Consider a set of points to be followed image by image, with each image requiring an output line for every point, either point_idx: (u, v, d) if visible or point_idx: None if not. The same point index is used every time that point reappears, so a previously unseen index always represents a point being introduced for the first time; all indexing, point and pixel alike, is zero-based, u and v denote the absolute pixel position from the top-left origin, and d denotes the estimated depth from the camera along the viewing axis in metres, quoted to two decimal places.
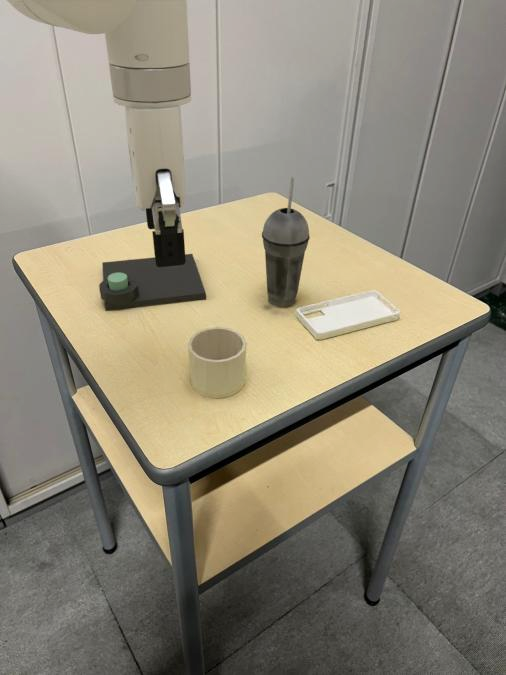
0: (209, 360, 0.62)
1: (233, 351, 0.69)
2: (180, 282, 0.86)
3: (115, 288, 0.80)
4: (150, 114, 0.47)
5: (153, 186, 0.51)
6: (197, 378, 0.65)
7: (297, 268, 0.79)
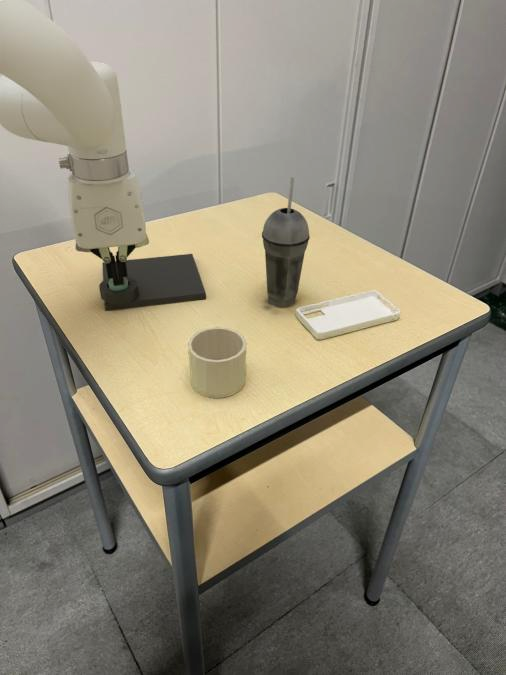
0: (209, 360, 0.62)
1: (233, 351, 0.69)
2: (180, 282, 0.86)
3: None
4: (135, 176, 0.72)
5: None
6: (197, 378, 0.65)
7: (297, 268, 0.79)
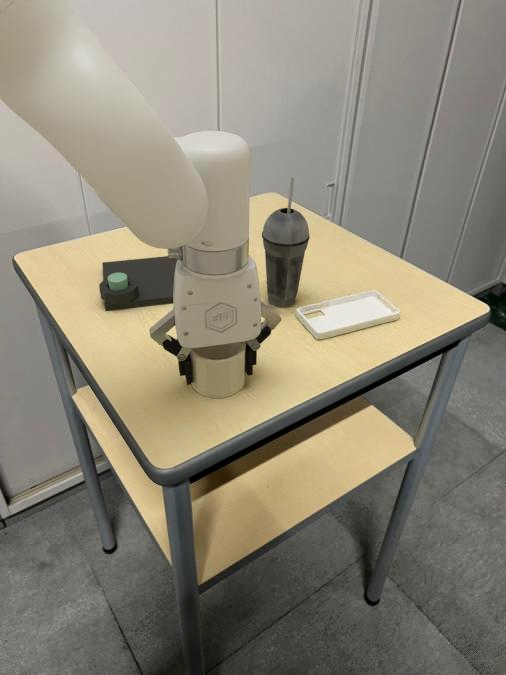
0: (209, 360, 0.62)
1: (233, 351, 0.69)
2: None
3: (115, 288, 0.80)
4: None
5: None
6: (197, 378, 0.65)
7: (297, 268, 0.79)
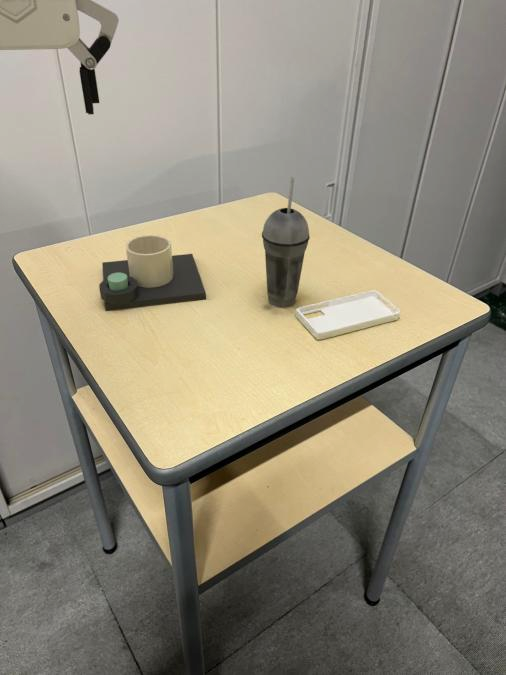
0: (140, 254, 0.81)
1: None
2: (180, 282, 0.86)
3: (115, 288, 0.80)
4: None
5: (76, 8, 0.46)
6: (133, 271, 0.84)
7: (297, 268, 0.79)
